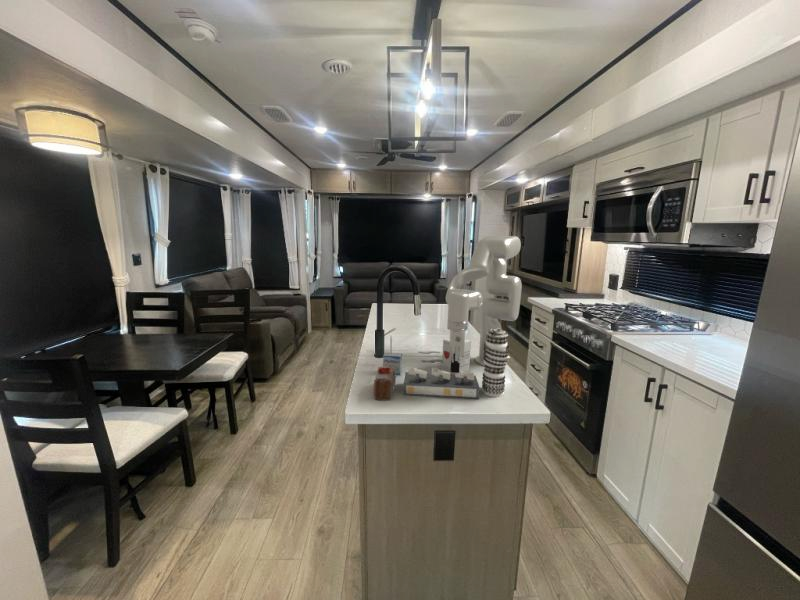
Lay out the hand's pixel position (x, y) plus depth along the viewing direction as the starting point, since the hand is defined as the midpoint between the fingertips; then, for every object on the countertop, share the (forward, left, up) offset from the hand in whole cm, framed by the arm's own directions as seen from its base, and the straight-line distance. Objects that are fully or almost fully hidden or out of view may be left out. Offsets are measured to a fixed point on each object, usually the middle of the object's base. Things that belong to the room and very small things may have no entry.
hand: (454, 371), depth 122 cm
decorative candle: (-15, -2, -9) cm, 18 cm away
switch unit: (+5, 0, -9) cm, 10 cm away
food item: (+27, +3, -9) cm, 28 cm away
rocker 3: (-4, 0, -1) cm, 4 cm away
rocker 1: (+14, 0, -1) cm, 14 cm away
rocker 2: (+5, 0, -1) cm, 5 cm away
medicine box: (+26, -15, -9) cm, 31 cm away
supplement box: (-2, -20, -9) cm, 22 cm away
